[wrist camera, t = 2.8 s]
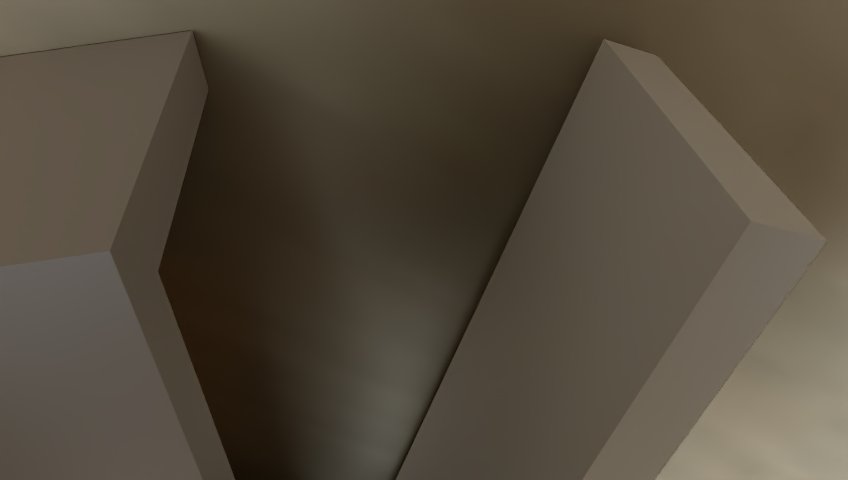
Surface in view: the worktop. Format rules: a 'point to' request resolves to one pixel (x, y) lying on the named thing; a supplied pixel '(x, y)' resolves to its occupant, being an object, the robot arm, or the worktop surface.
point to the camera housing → (97, 265)
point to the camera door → (616, 291)
